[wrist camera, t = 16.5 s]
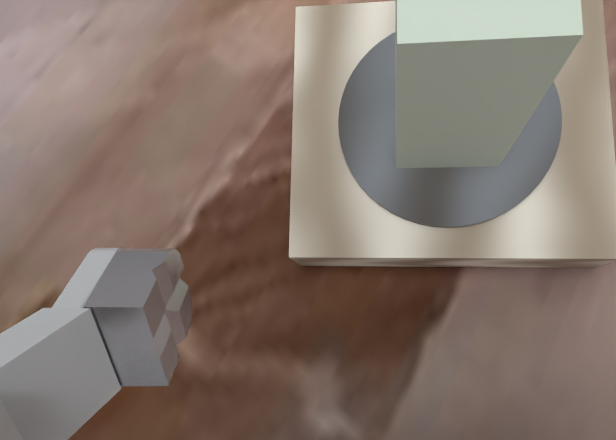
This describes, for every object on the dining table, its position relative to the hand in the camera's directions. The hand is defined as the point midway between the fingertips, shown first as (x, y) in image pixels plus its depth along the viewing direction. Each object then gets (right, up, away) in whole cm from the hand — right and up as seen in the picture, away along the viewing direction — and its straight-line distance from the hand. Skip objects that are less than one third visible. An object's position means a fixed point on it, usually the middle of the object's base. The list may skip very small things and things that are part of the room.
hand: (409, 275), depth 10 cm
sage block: (+5, +6, +19) cm, 21 cm away
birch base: (+6, +5, +24) cm, 25 cm away
